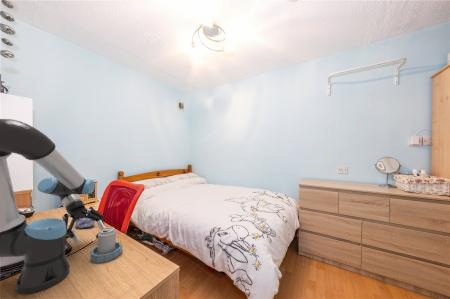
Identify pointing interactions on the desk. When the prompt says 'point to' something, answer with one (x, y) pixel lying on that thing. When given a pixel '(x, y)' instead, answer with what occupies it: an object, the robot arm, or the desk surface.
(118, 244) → the bowl
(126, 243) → the desk surface
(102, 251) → the can
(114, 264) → the desk surface
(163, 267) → the desk surface
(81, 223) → the mineral
